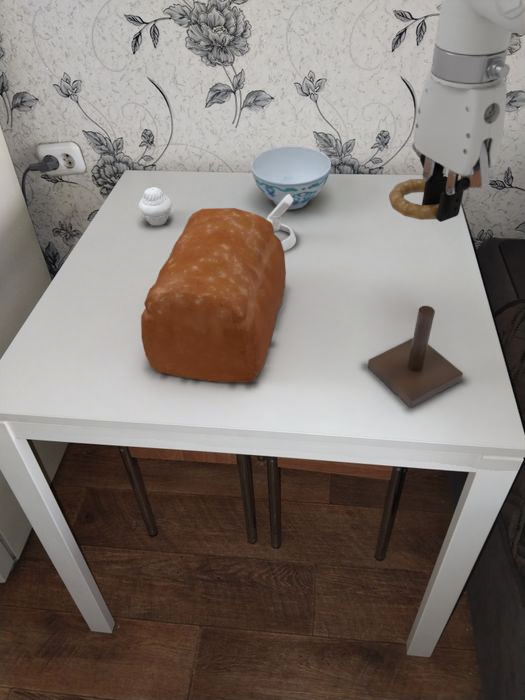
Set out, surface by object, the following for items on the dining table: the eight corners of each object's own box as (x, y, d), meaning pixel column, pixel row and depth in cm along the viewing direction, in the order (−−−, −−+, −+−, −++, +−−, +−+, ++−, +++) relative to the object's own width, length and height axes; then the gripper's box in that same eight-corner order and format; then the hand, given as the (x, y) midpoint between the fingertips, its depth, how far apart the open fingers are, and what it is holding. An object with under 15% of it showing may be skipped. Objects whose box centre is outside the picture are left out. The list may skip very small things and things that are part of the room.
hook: (311, 238, 97) (275, 214, 95) (276, 270, 107) (244, 249, 105) (323, 207, 101) (289, 183, 99) (289, 241, 111) (258, 220, 109)
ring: (470, 208, 78) (473, 196, 76) (419, 229, 75) (421, 217, 73) (425, 182, 83) (427, 170, 82) (375, 200, 80) (376, 188, 79)
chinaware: (329, 182, 121) (331, 146, 115) (328, 222, 110) (330, 184, 104) (257, 181, 122) (255, 145, 117) (248, 220, 111) (246, 183, 106)
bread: (289, 281, 98) (289, 201, 87) (259, 389, 81) (255, 305, 70) (190, 271, 100) (179, 193, 90) (141, 374, 83) (120, 291, 73)
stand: (461, 380, 80) (479, 317, 72) (410, 408, 77) (424, 345, 69) (416, 342, 86) (428, 279, 78) (367, 367, 83) (375, 304, 75)
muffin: (149, 211, 115) (143, 178, 110) (178, 214, 114) (173, 181, 109) (136, 228, 111) (129, 194, 106) (166, 232, 109) (160, 198, 104)
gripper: (551, 77, 60) (507, 233, 72) (444, 37, 70) (421, 180, 83) (496, 93, 57) (460, 251, 70) (393, 49, 68) (378, 194, 80)
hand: (439, 211), depth 76 cm, fingers closed on ring, 2 cm apart
